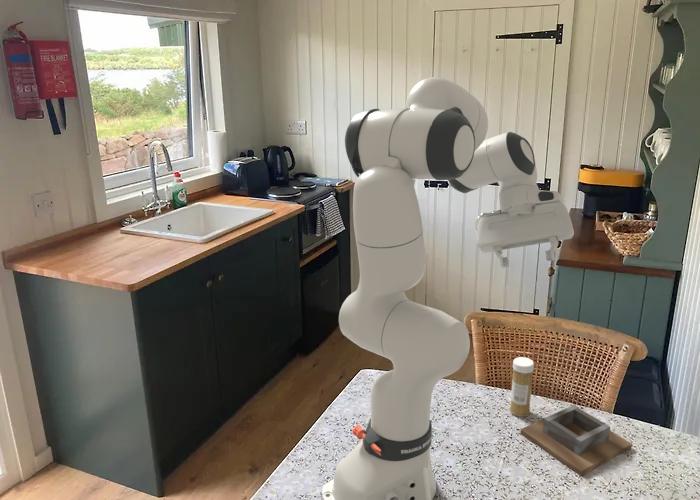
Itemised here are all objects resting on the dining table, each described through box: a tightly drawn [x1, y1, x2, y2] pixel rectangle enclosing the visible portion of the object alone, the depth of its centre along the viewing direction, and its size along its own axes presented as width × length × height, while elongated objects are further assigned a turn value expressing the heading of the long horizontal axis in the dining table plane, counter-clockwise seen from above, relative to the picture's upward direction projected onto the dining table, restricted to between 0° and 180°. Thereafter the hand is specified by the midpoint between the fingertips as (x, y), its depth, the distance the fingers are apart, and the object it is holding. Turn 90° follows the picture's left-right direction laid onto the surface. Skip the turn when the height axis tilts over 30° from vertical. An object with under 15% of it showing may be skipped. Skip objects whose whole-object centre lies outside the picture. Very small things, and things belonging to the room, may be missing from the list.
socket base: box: [519, 404, 633, 477], centre depth 123 cm, size 16×16×5 cm
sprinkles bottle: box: [509, 356, 535, 418], centre depth 132 cm, size 5×5×14 cm
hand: (527, 263), depth 121 cm, fingers open, 8 cm apart
